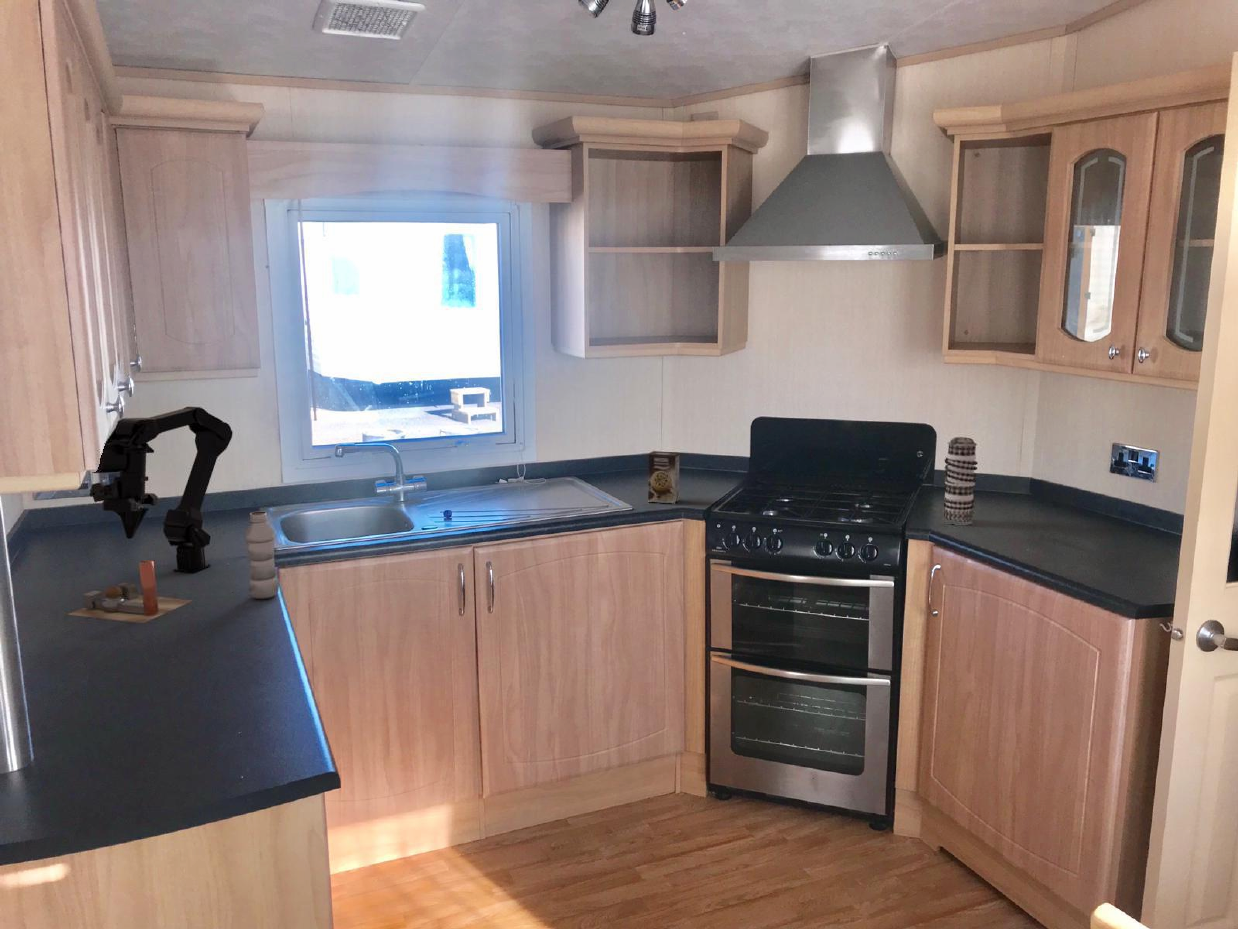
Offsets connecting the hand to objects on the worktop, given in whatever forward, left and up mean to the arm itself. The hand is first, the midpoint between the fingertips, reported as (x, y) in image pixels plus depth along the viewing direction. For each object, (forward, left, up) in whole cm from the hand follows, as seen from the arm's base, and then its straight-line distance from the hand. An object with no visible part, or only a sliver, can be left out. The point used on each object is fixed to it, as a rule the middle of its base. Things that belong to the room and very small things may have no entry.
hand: (129, 538), depth 231 cm
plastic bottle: (-4, +34, -13) cm, 36 cm away
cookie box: (-121, +99, -13) cm, 156 cm away
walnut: (+11, +5, -11) cm, 17 cm away
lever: (+16, +12, -11) cm, 23 cm away
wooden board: (+13, +12, -13) cm, 22 cm away
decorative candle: (-118, +189, -13) cm, 223 cm away
